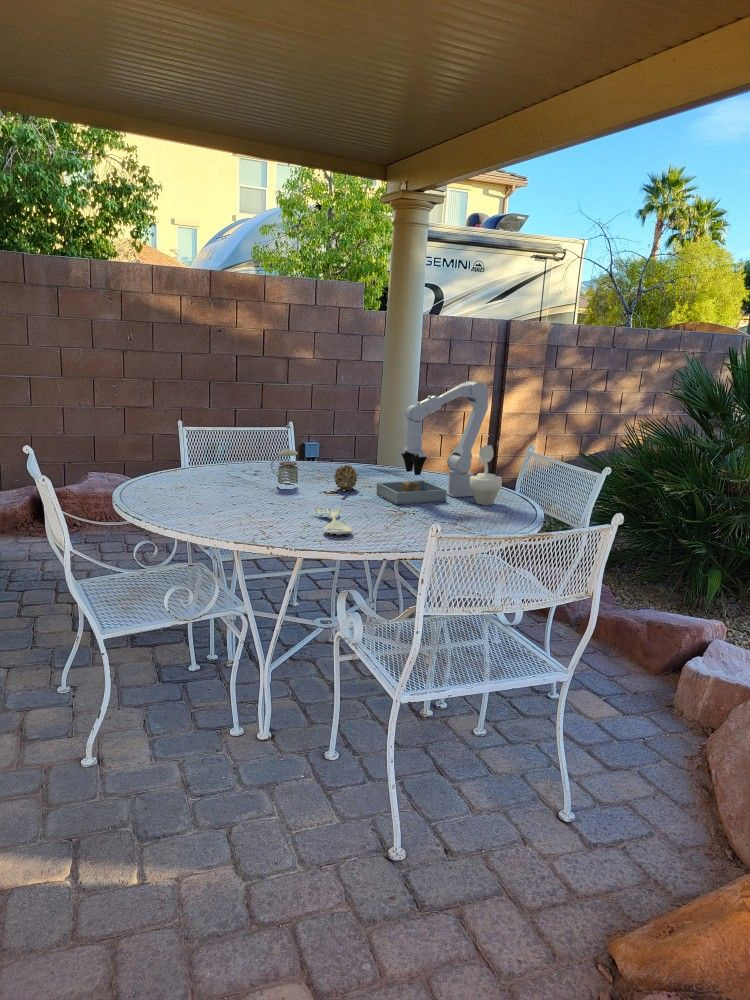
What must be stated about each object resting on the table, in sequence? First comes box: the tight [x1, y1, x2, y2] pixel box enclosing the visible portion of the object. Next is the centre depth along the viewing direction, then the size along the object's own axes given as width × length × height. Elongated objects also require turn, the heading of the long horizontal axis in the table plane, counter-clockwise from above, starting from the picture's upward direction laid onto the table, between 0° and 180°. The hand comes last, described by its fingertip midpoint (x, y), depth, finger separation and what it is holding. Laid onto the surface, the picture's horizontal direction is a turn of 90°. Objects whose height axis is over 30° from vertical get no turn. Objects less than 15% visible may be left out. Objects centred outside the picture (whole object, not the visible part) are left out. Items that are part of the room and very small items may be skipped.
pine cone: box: [333, 464, 358, 491], centre depth 285 cm, size 22×10×10 cm, turn 1°
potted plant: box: [470, 441, 504, 506], centre depth 268 cm, size 13×12×25 cm
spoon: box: [314, 505, 354, 536], centre depth 233 cm, size 9×32×4 cm, turn 11°
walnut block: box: [401, 481, 419, 492], centre depth 277 cm, size 5×5×5 cm
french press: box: [270, 424, 299, 485], centre depth 290 cm, size 10×12×25 cm
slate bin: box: [376, 480, 448, 505], centre depth 277 cm, size 20×20×4 cm
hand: (413, 473), depth 277 cm, fingers open, 7 cm apart
